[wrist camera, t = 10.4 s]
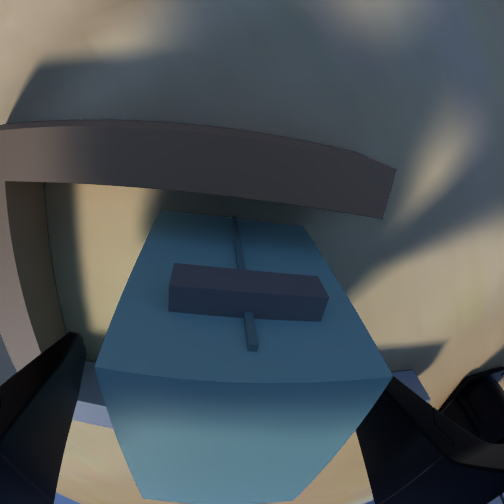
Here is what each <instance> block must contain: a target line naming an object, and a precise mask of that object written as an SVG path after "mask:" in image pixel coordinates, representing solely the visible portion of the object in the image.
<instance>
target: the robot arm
mask: <svg viewBox="0 0 504 504" xmlns="http://www.w3.org/2000/svg"><path fill="white" fill-rule="evenodd" d="M85 361H86V349H85V345H84V341H83V337H82V335H81V334H80V333H75V332H69V333H67V334H66V335H65V336H63V337H62V338H61V339H59V340H58V341H57V342H55V343H54V344H53V345H51V346H50V347H49V348H48V349H46V350H45V351H44V352H42V353H41V354H40V355H38V356H37V357H36V358H35V359H33V360H32V361H31V362H30V363H28V364H27V365H26V366H24V367H23V368H22V369H21V370H19V371H18V372H17V373H16V374H14V375H13V376H12V377H11V378H9V379H8V380H7V381H6V382H5V383H3V384H2V385H1V386H0V504H54V503H53V502H54V499H55V493H56V487H57V482H58V477H59V472H60V467H61V463H62V458H63V454H64V450H65V445H66V441H67V437H68V433H69V429H70V426H71V422H72V418H73V415H74V411H75V408H76V404H77V401H78V397H79V392H80V386H81V381H82V375H83V370H84V365H85ZM503 375H504V367H501V368H498V369H494V370H491V371H488V372H484V373H480V374H477V375H473V376H469V377H467V378H466V379H465V380H464V381H463V382H462V383H461V384H460V386H459V387H458V388H457V390H456V391H455V392H454V394H453V395H452V396H451V397H450V399H449V400H448V401H447V402H446V404H445V405H444V406H443V407H442V408H441V410H440V411H438V410H436V409H435V408H434V407H432V406H431V405H430V404H429V403H427V402H426V401H425V400H424V399H422V398H421V397H420V396H419V395H417V394H416V393H415V392H413V391H412V390H411V389H410V388H408V387H407V386H406V385H405V384H403V383H402V382H401V381H400V380H398V379H397V378H396V377H395V376H393V377H392V379H391V380H390V382H389V384H388V385H387V387H386V388H385V390H384V391H383V393H382V394H381V395H380V397H379V398H378V400H377V401H376V403H375V404H374V406H373V407H372V408H371V410H370V411H369V413H368V414H367V415H366V417H365V418H364V419H363V421H362V422H361V423H360V425H359V426H358V427H357V429H356V433H357V437H358V440H359V444H360V448H361V451H362V455H363V459H364V462H365V466H366V470H367V474H368V478H369V482H370V486H371V490H372V494H373V498H374V502H375V504H504V391H503V389H502V388H501V386H500V385H499V384H498V382H499V380H500V379H501V378H502V377H503Z"/></svg>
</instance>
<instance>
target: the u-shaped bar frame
mask: <svg viewBox="0 0 504 504" xmlns="http://www.w3.org/2000/svg"><path fill="white" fill-rule="evenodd" d="M395 173H396V169H394V168H392V167H390V166H387V165H385V164H383V163H381V162H378V161H376V160H374V159H372V158H369V157H367V156H365V155H362V154H360V153H356V152H352V151H348V150H344V149H339V148H335V147H331V146H326V145H322V144H317V143H312V142H307V141H302V140H297V139H292V138H286V137H281V136H275V135H269V134H263V133H257V132H250V131H243V130H236V129H229V128H221V127H212V126H203V125H194V124H183V123H170V122H156V121H137V120H53V121H35V122H22V123H11V124H3V125H0V334H1V337H2V339H3V342H4V344H5V347H6V349H7V351H8V354H9V356H10V358H11V360H12V363H13V365H14V367H15V369H16V371H17V372H18V371H19V370H21V369H22V368H23V367H24V366H26V365H27V364H28V363H30V362H31V361H32V360H33V359H35V358H36V357H37V356H38V355H40V354H41V353H42V352H44V351H45V350H46V349H48V348H49V347H50V346H51V345H53V344H54V343H55V342H57V341H58V340H59V339H61V338H62V337H63V336H65V335H66V330H65V326H64V322H63V318H62V314H61V310H60V305H59V300H58V295H57V290H56V285H55V280H54V274H53V268H52V261H51V254H50V247H49V239H48V230H47V220H46V207H45V191H44V182H56V183H78V184H96V185H112V186H126V187H139V188H151V189H163V190H174V191H184V192H194V193H203V194H213V195H222V196H230V197H239V198H247V199H255V200H262V201H270V202H277V203H284V204H291V205H298V206H305V207H312V208H318V209H325V210H331V211H337V212H343V213H349V214H355V215H361V216H367V217H373V218H378V219H383V215H384V212H385V209H386V205H387V202H388V198H389V195H390V191H391V188H392V184H393V180H394V177H395ZM95 364H96V363H95V362H90V361H85V365H84V370H83V375H82V381H81V386H80V392H79V397H78V401H77V404H76V408H75V411H74V415H73V418H72V420H76V421H80V422H85V423H89V424H94V425H98V426H103V427H108V428H113V426H112V423H111V420H110V417H109V414H108V411H107V408H106V405H105V402H104V398H103V395H102V392H101V388H100V385H99V381H98V378H97V374H96V370H95ZM392 375H393V376H395V377H396V378H397V379H398V380H400V381H401V382H402V383H403V384H405V385H406V386H407V387H408V388H410V389H411V390H412V391H413V392H415V393H416V394H417V395H419V396H420V397H421V398H422V399H424V400H425V401H426V402H427V403H428V402H429V401H430V397H429V396H428V394H427V392H426V391H425V389H424V387H423V386H422V384H421V382H420V380H419V379H418V377H417V375H416V374H415V372H414V371H413V370H408V371H400V372H392ZM355 431H356V430H355ZM355 431H354V432H355Z"/></svg>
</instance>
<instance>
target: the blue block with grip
mask: <svg viewBox="0 0 504 504" xmlns="http://www.w3.org/2000/svg"><path fill="white" fill-rule="evenodd" d="M95 370H96V374H97V378H98V381H99V385H100V388H101V392H102V395H103V398H104V402H105V405H106V408H107V411H108V414H109V417H110V420H111V423H112V426H113V429H114V431H115V434H116V437H117V439H118V442H119V445H120V447H121V450H122V452H123V455H124V457H125V460H126V462H127V465H128V467H129V469H130V472H131V474H132V476H133V478H134V481H135V483H136V485H137V487H138V489H139V491H140V493H141V495H142V497H143V498H144V499H151V500H159V501H168V502H179V503H194V504H257V503H272V502H283V501H292V500H294V499H295V498H296V497H297V496H298V495H299V494H300V493H301V492H302V491H303V490H304V489H305V488H306V487H307V486H308V485H309V484H310V483H311V482H312V481H313V479H314V478H315V477H316V476H317V475H318V474H319V473H320V472H321V471H322V470H323V468H324V467H325V466H326V465H327V464H328V463H329V462H330V461H331V459H332V458H333V457H334V456H335V455H336V454H337V452H338V451H339V450H340V449H341V448H342V446H343V445H344V444H345V443H346V441H347V440H348V439H349V438H350V436H351V435H352V434H353V433H354V431H355V430H356V429H357V427H358V426H359V425H360V423H361V422H362V421H363V419H364V418H365V417H366V415H367V414H368V413H369V411H370V410H371V408H372V407H373V406H374V404H375V403H376V401H377V400H378V398H379V397H380V395H381V394H382V393H383V391H384V390H385V388H386V387H387V385H388V384H389V382H390V380H391V379H392V377H393V375H392V373H391V371H390V370H389V368H388V366H387V364H386V362H385V360H384V359H383V357H382V355H381V353H380V352H379V350H378V348H377V346H376V344H375V343H374V341H373V339H372V337H371V336H370V334H369V332H368V331H367V329H366V327H365V325H364V324H363V322H362V320H361V319H360V317H359V315H358V313H357V312H356V310H355V308H354V307H353V305H352V303H351V302H350V300H349V298H348V297H347V295H346V293H345V292H344V290H343V289H342V287H341V285H340V284H339V282H338V280H337V279H336V277H335V275H334V274H333V272H332V271H331V269H330V267H329V266H328V264H327V263H326V261H325V260H324V258H323V256H322V255H321V253H320V252H319V250H318V248H317V247H316V245H315V244H314V242H313V241H312V239H311V238H310V236H309V235H308V233H307V231H306V230H305V228H304V227H303V226H296V225H288V224H280V223H272V222H264V221H256V220H247V219H238V218H237V217H236V216H232V218H230V217H221V216H211V215H202V214H192V213H183V212H172V211H162V210H161V211H160V213H159V215H158V217H157V219H156V221H155V223H154V225H153V227H152V229H151V231H150V233H149V235H148V237H147V239H146V242H145V244H144V246H143V248H142V250H141V252H140V254H139V257H138V259H137V261H136V263H135V265H134V268H133V270H132V272H131V275H130V277H129V279H128V281H127V284H126V286H125V288H124V291H123V293H122V296H121V298H120V300H119V303H118V305H117V308H116V310H115V313H114V315H113V318H112V320H111V323H110V326H109V328H108V331H107V333H106V336H105V339H104V341H103V344H102V347H101V350H100V352H99V355H98V358H97V361H96V364H95Z"/></svg>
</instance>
